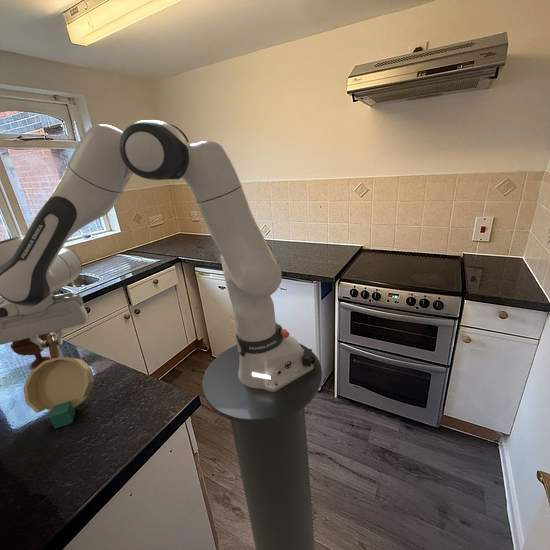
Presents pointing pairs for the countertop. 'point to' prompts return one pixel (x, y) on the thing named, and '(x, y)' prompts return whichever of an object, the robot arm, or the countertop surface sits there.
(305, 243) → the countertop surface
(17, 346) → the ice cream bowl
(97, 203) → the robot arm
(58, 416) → the block
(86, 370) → the tan scoop with handle
